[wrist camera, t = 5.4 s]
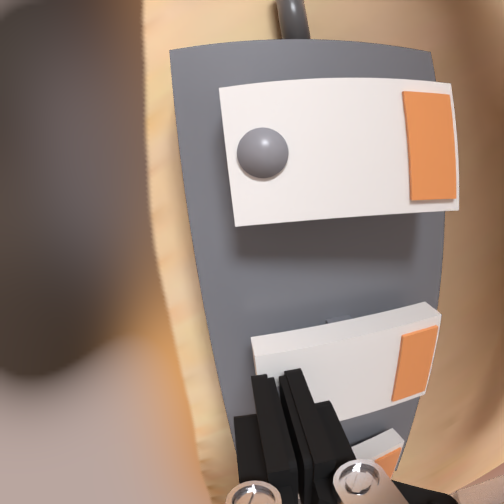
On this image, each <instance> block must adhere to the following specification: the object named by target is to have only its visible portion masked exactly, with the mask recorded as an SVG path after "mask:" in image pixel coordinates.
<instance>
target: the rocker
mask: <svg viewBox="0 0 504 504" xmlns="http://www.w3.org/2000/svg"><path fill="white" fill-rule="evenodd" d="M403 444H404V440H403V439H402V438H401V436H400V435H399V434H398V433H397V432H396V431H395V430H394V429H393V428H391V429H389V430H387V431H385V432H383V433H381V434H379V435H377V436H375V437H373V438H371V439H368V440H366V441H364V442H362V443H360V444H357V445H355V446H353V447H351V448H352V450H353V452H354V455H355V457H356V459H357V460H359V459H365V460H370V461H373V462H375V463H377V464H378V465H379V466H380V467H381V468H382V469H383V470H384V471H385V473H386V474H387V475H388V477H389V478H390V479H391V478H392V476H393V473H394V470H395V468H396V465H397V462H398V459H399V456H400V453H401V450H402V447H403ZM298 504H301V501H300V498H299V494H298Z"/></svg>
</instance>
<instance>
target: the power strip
mask: <svg viewBox="0 0 504 504" xmlns="http://www.w3.org/2000/svg"><path fill="white" fill-rule="evenodd" d="M276 4H277V10H278V17H279V23H280V29H281V36H282V39H276V40H253V41H239V42H227V43H217V44H209V45H201V46H193V47H187V48H180V49H174V50H170V63H171V74H172V85H173V96H174V105H175V115H176V124H177V133H178V141H179V149H180V157H181V165H182V173H183V180H184V188H185V195H186V202H187V208H188V215H189V222H190V228H191V234H192V241H193V247H194V253H195V259H196V265H197V271H198V276H199V282H200V288H201V293H202V298H203V304H204V309H205V314H206V320H207V325H208V330H209V335H210V340H211V345H212V350H213V354H214V359H215V364H216V369H217V373H218V378H219V382H220V387H221V391H222V396H223V400H224V404H225V409H226V413H227V417H228V421H229V426H230V430H231V434H232V438H233V442H234V446H235V450H236V442H235V430H234V416H242V415H250V414H256V409H255V402H254V395H253V389H252V382H251V376H255V375H256V373H255V366H254V358H253V351H252V344H251V337H255V336H261V335H267V334H274V333H280V332H286V331H291V330H297V329H303V328H308V327H314V326H319V325H324V324H329V323H334V322H339V321H344V320H349V319H354V318H358V317H363V316H367V315H372V314H376V313H381V312H385V311H389V310H393V309H398V308H402V307H406V306H410V305H414V304H418V303H422V302H426V303H428V304H429V305H430V306H432V307H433V308H434V309H435V310H437V306H438V299H439V291H440V282H441V271H442V260H443V245H444V222H445V211H436V212H418V213H402V214H386V215H372V216H357V217H344V218H331V219H318V220H306V221H294V222H282V223H270V224H259V225H248V226H238V227H235V221H234V213H233V205H232V197H231V188H230V180H229V172H228V164H227V155H226V147H225V138H224V130H223V121H222V112H221V103H220V95H219V88H222V87H229V86H236V85H244V84H252V83H262V82H272V81H283V80H297V79H315V78H391V79H409V80H422V81H433V82H436V79H435V73H434V67H433V62H432V57H431V52H427V51H422V50H416V49H411V48H404V47H398V46H391V45H383V44H374V43H365V42H353V41H339V40H316V39H310V33H309V27H308V21H307V16H306V11H305V5H304V0H276ZM419 398H420V396H419V397H416V398H413V399H410V400H408V401H405V402H402V403H399V404H396V405H393V406H390V407H387V408H384V409H381V410H377V411H374V412H371V413H368V414H364V415H361V416H357V417H354V418H350V419H346V420H342V421H340V423H341V425H342V428H343V430H344V432H345V434H346V437H347V439H348V441H349V443H350V446H351V447H353V446H355V445H357V444H360V443H362V442H364V441H366V440H368V439H371V438H373V437H375V436H377V435H379V434H381V433H383V432H385V431H387V430H389V429H391V428H393V429H394V430H395V431H396V432H397V433H398V434H399V435H400V436H401V438H402V439H403V440H404V444H403V447H402V450H401V453H400V456H399V459H398V462H397V465H396V468H395V470H394V471H396V470H397V468H398V465H399V462H400V459H401V457H402V454H403V451H404V448H405V445H406V442H407V439H408V436H409V433H410V429H411V426H412V423H413V419H414V416H415V412H416V409H417V405H418V402H419ZM236 454H237V452H236Z"/></svg>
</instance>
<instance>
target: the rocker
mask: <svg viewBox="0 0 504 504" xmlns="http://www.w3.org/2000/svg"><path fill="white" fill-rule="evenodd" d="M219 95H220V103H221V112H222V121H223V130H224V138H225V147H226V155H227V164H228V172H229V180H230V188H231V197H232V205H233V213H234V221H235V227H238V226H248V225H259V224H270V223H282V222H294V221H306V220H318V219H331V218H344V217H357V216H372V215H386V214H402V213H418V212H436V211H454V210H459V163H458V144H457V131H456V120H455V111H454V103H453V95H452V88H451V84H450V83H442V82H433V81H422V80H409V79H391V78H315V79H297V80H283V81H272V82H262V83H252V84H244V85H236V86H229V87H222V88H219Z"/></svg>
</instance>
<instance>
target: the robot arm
mask: <svg viewBox="0 0 504 504" xmlns="http://www.w3.org/2000/svg"><path fill="white" fill-rule="evenodd" d="M251 382H252V389H253V395H254V402H255V409H256V414H250V415H242V416H234V430H235V442H236V452H237V463H238V473H239V483H240V484H238V485H237V486H236V487H234V488H233V489H232V490H231V491H230V492H229V493H228V495H227V498H226V501H225V504H298V494H299V498H300V501H301V504H504V475H502V476H499V477H496V478H493V479H491V480H488V481H485V482H482V483H480V484H476V485H473V486H470V487H467V488H464V489H460V490H457V491H456V493H454V494H450V495H447V494H445V493H440V492H436V491H431V490H427V489H423V488H419V487H415V486H411V485H408V484H404V483H400V482H397V481H393V480H391V479H390V478H389V477H388V475H387V474H386V473H385V471H384V470H383V469H382V468H381V467H380V466H379V465H378V464H377V463H375V462H373V461H370V460H365V459H359V460H357V459H356V457H355V455H354V452H353V450H352V448H351V446H350V443H349V441H348V439H347V437H346V434H345V432H344V430H343V428H342V425H341V423H340V421H339V419H338V416H337V414H336V412H335V410H334V408H333V405H332V403H331V402H330V401H329V400H328V401H323V402H319V403H314V400H313V398H312V395H311V393H310V390H309V388H308V385H307V382H306V380H305V377H304V375H303V372H302V370H301V368H298V369H292V370H287V371H284V375H282V376H279V389H280V398H279V394H278V390H277V386H276V383H275V379H274V377H270V378H268V376H267V374H262V375H255V376H251ZM280 401H281V402H280Z"/></svg>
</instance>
